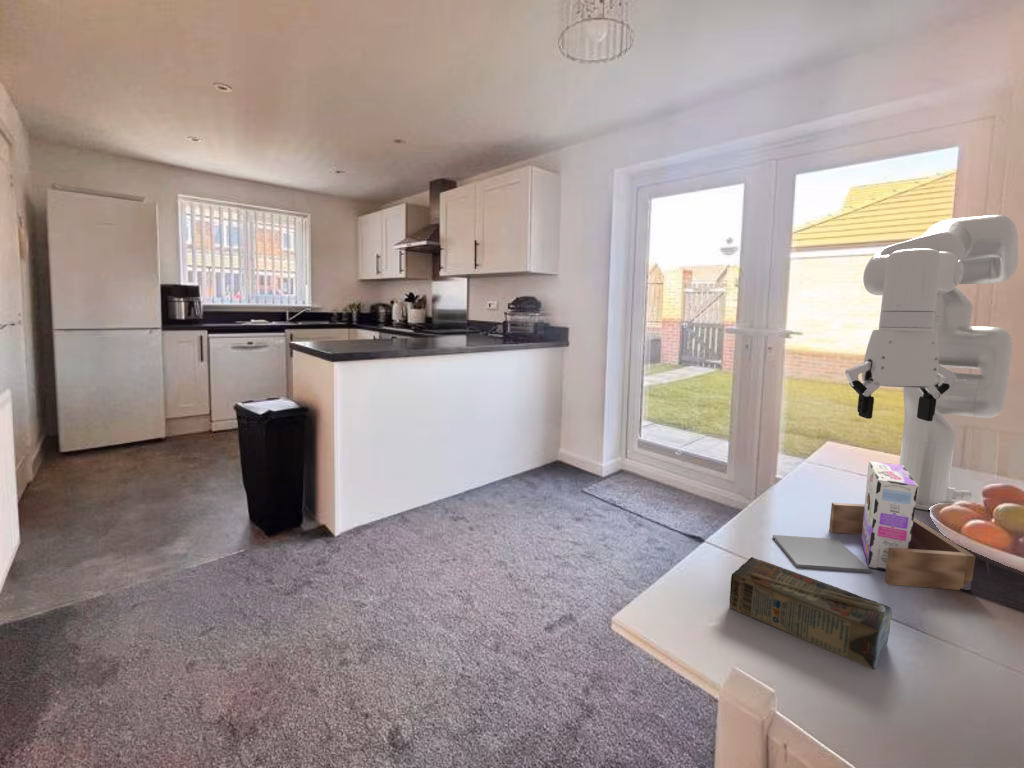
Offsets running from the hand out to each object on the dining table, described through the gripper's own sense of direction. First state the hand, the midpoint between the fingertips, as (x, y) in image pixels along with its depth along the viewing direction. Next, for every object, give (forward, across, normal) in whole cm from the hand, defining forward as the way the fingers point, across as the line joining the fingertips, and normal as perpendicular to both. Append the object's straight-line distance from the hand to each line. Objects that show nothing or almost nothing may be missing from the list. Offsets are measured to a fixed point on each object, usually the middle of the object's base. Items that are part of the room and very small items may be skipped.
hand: (894, 418), depth 90 cm
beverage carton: (+27, +22, +24) cm, 43 cm away
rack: (+26, -3, -1) cm, 26 cm away
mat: (+26, +10, 0) cm, 28 cm away
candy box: (+27, -1, -1) cm, 27 cm away
